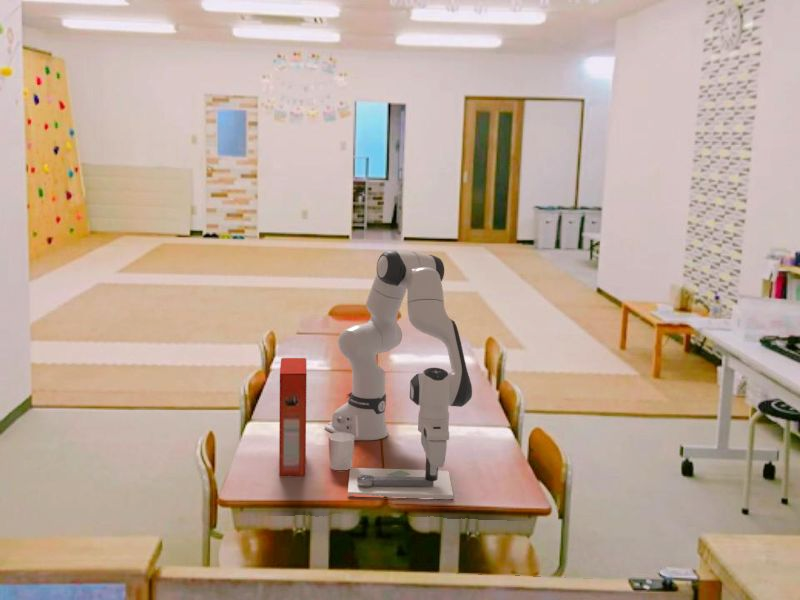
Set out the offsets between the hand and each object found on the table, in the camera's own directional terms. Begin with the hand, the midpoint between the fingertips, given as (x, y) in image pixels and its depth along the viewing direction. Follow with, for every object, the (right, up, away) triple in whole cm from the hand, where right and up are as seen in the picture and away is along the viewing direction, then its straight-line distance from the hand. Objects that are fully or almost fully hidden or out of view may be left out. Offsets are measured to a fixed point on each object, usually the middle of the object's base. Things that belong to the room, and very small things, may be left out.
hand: (431, 470), depth 253 cm
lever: (-10, -4, -1) cm, 11 cm away
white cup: (-27, -2, +15) cm, 31 cm away
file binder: (-42, -2, +15) cm, 45 cm away
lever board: (-9, -5, +3) cm, 11 cm away
